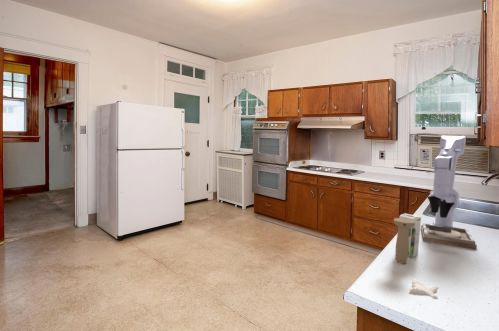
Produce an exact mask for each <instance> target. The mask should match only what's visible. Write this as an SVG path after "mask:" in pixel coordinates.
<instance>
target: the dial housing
mask: <svg viewBox="0 0 499 331" xmlns="http://www.w3.org/2000/svg"><path fill="white" fill-rule="evenodd" d="M429 224H430V223H427V222H426V223H425V222H423V223H422V225H421V224H420V231H421V232H420V233H421V237H422V241H424V242H427V243H429V242H430V243H436V244H442V245H448V246H454V247H461V248H467V249H473V250H477V248H478V246H477V243H476V240H475V239H474V237H473V236H472V234H471V233H470V232H469V229H467V228H461V227H455V226H454V227H451V230H455V231H457V232H459V233H461V237H460V238H453V237H450V236H448V237H446V236H439V235H436V234H434V233H433V230H429ZM438 226H441V225H438ZM447 227H448V226H447Z"/></svg>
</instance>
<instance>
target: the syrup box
mask: <svg viewBox="0 0 499 331" xmlns="http://www.w3.org/2000/svg"><path fill="white" fill-rule="evenodd" d="M398 218H402V219H409V220H413V221H415V226H414V227H411V228H410V229H409V251H408V257H410V258H414V257H416V255H418V254H419V247H420V246H419V244H420V233H421V232H420V231H421V223H422V222H421V220H422V216H420V215H414V214H409V213H402V214H400V215H399V217H398Z"/></svg>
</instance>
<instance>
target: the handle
mask: <svg viewBox="0 0 499 331" xmlns="http://www.w3.org/2000/svg"><path fill="white" fill-rule="evenodd" d="M393 224H394V225H395V226H397V235H396V241H395V242H396V243H395V261H396V263H398V264H401V265H405V264H407V262H408V260H407V259H408V257H409V256H408V251H409V229H410V228H411V227H414V226H415V221H413V220H409V219H402V218H399V217H396V218H393Z"/></svg>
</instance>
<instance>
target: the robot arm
mask: <svg viewBox="0 0 499 331" xmlns="http://www.w3.org/2000/svg"><path fill="white" fill-rule="evenodd" d="M466 141H467V139H466V136H465V135H461V136H459V135H442V136H440V139H439V148H440V151H439V153H438V155H437V157H435V158H434V160H433V173H434V177H433V188H432V189H433V190H429V191H430V192H429V195H428V196H427V200H428V202H429V204H430V210H431V213H435V219H434V220H432V222H433V223H432V224H433V225H441V226H448V227H455V226H454V214H455V210H456V209H458V207H459V202H460V193H459V192H458V190H456V189H455V188H454V184H455V178H456V170H457V169H456V168H457V161H458V158H459V157H460V156H462V155H464V153H465V149H466V144H467V142H466Z"/></svg>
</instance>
